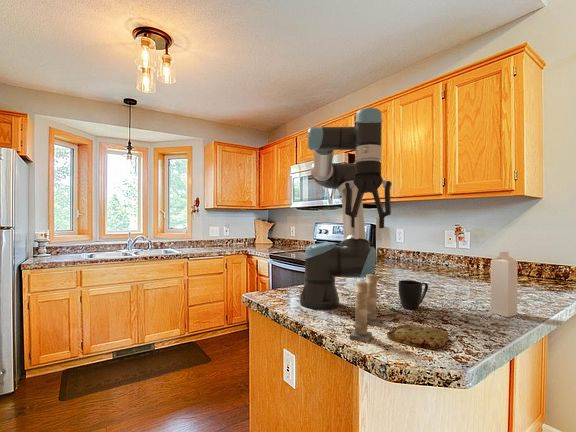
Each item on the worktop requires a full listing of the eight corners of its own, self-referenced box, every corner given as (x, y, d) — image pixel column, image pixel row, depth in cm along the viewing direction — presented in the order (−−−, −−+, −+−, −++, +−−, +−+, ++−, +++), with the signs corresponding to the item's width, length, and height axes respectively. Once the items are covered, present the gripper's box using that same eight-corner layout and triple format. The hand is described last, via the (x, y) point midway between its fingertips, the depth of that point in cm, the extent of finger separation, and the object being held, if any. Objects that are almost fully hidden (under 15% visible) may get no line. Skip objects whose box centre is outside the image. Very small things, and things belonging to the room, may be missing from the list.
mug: (435, 309, 114) (435, 283, 114) (407, 311, 111) (408, 285, 111) (419, 303, 122) (420, 279, 122) (393, 305, 119) (394, 280, 119)
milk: (517, 315, 109) (518, 252, 109) (508, 317, 106) (509, 252, 106) (498, 310, 114) (499, 250, 114) (489, 312, 111) (490, 251, 111)
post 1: (349, 338, 85) (350, 283, 85) (354, 332, 89) (354, 280, 89) (368, 342, 82) (368, 285, 83) (371, 335, 87) (372, 282, 87)
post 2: (361, 323, 97) (361, 275, 97) (364, 319, 102) (365, 273, 102) (377, 326, 95) (378, 277, 95) (380, 321, 100) (380, 274, 100)
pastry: (467, 351, 78) (467, 339, 78) (401, 353, 77) (401, 341, 77) (430, 327, 96) (430, 318, 96) (375, 328, 94) (376, 318, 94)
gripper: (334, 161, 93) (333, 238, 93) (399, 157, 85) (398, 241, 85) (341, 165, 100) (340, 237, 100) (402, 161, 92) (401, 239, 92)
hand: (367, 239), depth 92 cm, fingers open, 6 cm apart
